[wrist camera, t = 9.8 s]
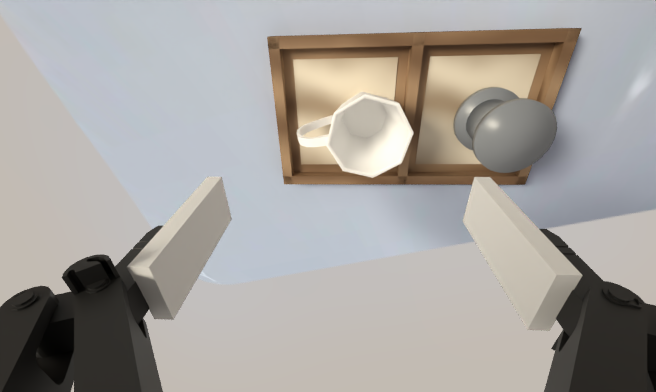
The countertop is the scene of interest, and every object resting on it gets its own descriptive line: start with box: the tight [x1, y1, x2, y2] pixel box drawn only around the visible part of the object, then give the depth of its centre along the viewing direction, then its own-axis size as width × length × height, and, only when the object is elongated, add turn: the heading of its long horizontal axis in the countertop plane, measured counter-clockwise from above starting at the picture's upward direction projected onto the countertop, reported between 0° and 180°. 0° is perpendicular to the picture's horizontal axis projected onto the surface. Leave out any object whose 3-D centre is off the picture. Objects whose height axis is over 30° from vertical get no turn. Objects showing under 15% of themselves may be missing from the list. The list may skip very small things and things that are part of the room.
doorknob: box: [453, 87, 557, 173], centre depth 27 cm, size 6×6×6 cm
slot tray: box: [267, 28, 582, 185], centre depth 30 cm, size 15×27×2 cm, turn 91°
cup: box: [297, 92, 414, 178], centre depth 27 cm, size 7×10×8 cm
